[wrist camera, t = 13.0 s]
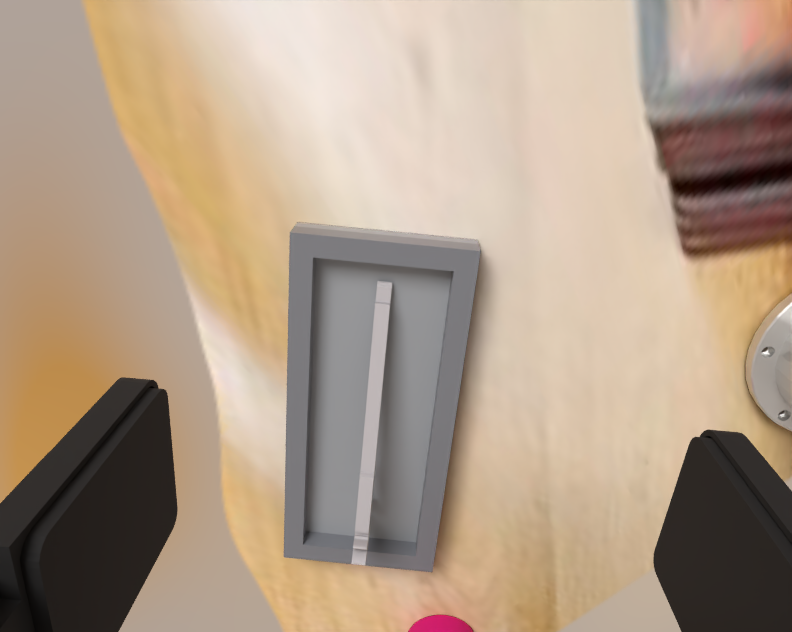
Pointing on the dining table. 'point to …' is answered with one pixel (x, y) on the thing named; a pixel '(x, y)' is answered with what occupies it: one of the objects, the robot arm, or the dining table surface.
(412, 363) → the tool case
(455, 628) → the pepper mill
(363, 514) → the caliper
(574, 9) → the dining table surface
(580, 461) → the dining table surface
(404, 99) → the dining table surface
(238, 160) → the dining table surface
